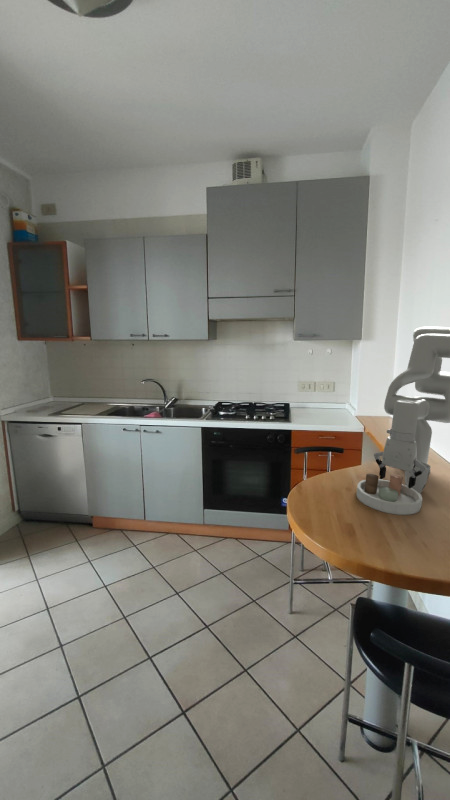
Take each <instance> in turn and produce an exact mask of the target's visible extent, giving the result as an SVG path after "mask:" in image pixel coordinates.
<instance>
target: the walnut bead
mask: <svg viewBox="0 0 450 800" xmlns="http://www.w3.org/2000/svg"><path fill="white" fill-rule="evenodd" d="M378 479H380V476H379V475H378V474H374V473H366V475H365V480H366V482H365V490H364V491H365V492H366V493H368V494H376V493H377V485H378Z"/></svg>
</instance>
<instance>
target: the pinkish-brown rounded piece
mask: <svg viewBox="0 0 450 800" xmlns="http://www.w3.org/2000/svg"><path fill="white" fill-rule="evenodd" d="M389 476H390V477H389V481H390V482H389V488H392V489H395V490H396V491H398V495H401V488H402V484H403V479H404V477H403V476H401V475H398V474H390V475H389Z"/></svg>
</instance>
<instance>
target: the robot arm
mask: <svg viewBox="0 0 450 800" xmlns="http://www.w3.org/2000/svg"><path fill="white" fill-rule="evenodd" d="M412 339H413V340H412V341H413V345H412V349H411V353H410V355H409V360H408V364H407V369H405V370H404V371H403V372H402V373H400V374H398V375H397V376H396V377H394V379H393V380H392V382H391V383H390V384H389V386H388V389H387V393H386V396H385V400H384V404H383V405H384V406H383V409H384V411H385V413H386V414H387V415H390V416H392V422H391V428H390V429H386V433H387V434H389V436H387V438H386V441H385V444H384V448H383V451H380V452H379V451H378V452H376V453H374V454H373V456H374V459H375V462H376V463H377V465H378V468H379V473H378V476H379V479H382V480H384V479H385V478H386V473H387V467H389V468H393V469H396V470H399V471H404V472H405V471H408V472H409V473H410V475H411V477H410V478H409V484H408V488H412V487H413V486H415V482H416V477H417V476H419V475H421V474H422V473H423V472H424V471H425V470H426V469H427V467H426V466H425V465H424V464H422V463H421V462H423V463H426V464H428V463H429V462H428V461H429V454H430V447H431V442H432V435H433V431H432V430H433V429H432V427H431V426H430V424H429V422H428V421H432V422H437V423H444V424H449V423H450V371H442V370H441V369H442V363H443V359H444V358H447V359H450V327H448V326H447V327H446V326H445V327H444V326H421V327H418V328H416V329H414V331H413V334H412ZM413 383H414V388H415V390H416V392H419V393H422V394H427V395H428V394H429V395H435V396H436V395H437V396H443V398H438V397H430V396H422V395H416V396H407V395H398V392H399V390H400V389H401V388H403V387H404V386H406V385H410V384H413ZM380 457H381V458H380ZM416 465H417V466H418V467H420V470H419V471H417V472H416V470H415V467H416ZM430 473H431V471H430V472H429V474H430Z"/></svg>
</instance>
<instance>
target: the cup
mask: <svg viewBox="0 0 450 800" xmlns="http://www.w3.org/2000/svg"><path fill="white" fill-rule="evenodd" d="M421 463H422V464H424V465H425V466H426V467H427V469H426V470H425V471H424V472H423V473H422V474H421V475H419V476H417V477H416V482H415V486H413V487H412V489H415V490H416V491H417V492H418V493H420V494H421V493H423V490H424V489H425V487H426V486H427V485H426V484H427V482H428V479H429V474H430V473H431V465H430V464H428V463H427V464H426V463H423V462H421ZM415 470H416V472H417V471H419V470H420V467H418V466H417V465H416V467H415ZM429 472H430V473H429ZM410 477H411V475H410V473H409V472H408V471H404V482H405V484H404V485H406V486H408V484H409V478H410Z"/></svg>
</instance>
